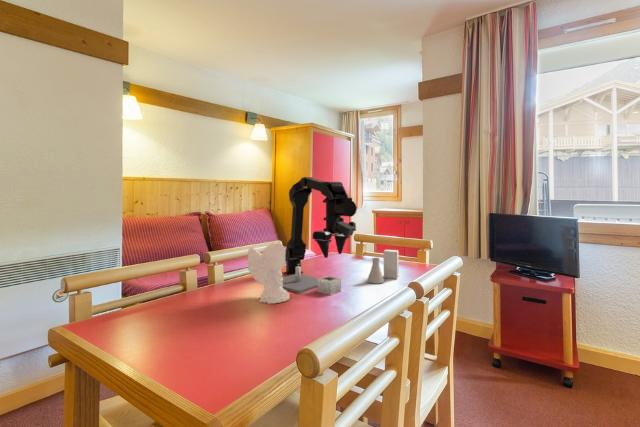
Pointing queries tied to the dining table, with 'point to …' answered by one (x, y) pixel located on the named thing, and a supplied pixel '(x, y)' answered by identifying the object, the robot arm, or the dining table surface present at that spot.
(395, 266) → the skincare box
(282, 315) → the dining table surface
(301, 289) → the post plate
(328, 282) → the grey hollow square block
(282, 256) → the cherub figurine
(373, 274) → the flask
